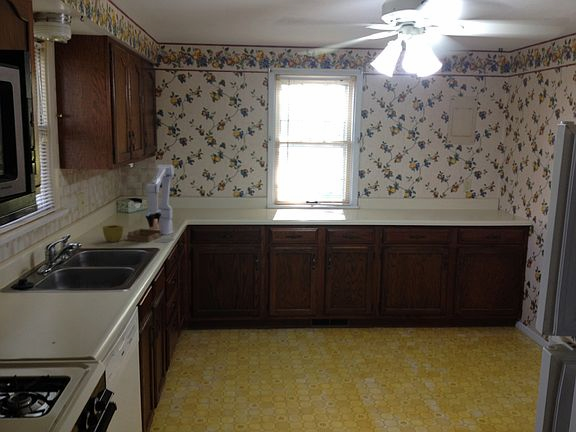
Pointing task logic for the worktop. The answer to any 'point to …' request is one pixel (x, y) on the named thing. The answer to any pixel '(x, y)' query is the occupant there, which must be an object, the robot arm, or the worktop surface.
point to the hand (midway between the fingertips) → (153, 226)
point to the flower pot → (113, 232)
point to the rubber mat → (164, 240)
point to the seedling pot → (154, 224)
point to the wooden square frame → (144, 235)
